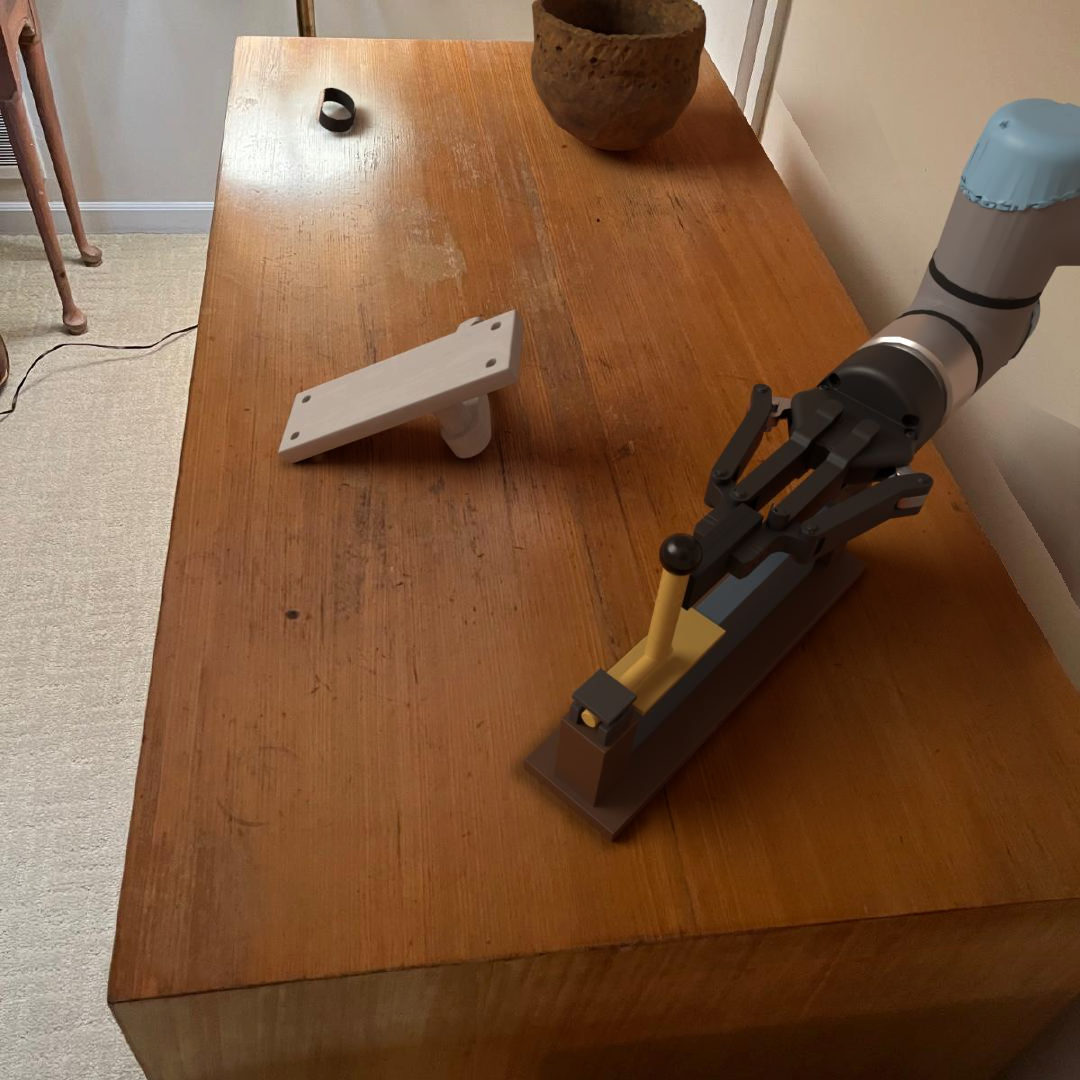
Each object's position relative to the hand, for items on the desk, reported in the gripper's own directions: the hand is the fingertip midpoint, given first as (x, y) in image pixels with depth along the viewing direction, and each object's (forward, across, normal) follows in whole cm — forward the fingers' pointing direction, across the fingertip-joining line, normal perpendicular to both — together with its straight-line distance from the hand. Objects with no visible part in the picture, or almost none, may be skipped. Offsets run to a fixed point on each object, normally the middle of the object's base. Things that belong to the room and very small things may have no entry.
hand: (680, 587), depth 55 cm
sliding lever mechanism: (-7, 0, -14) cm, 15 cm away
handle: (-10, +33, -14) cm, 37 cm away
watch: (-39, +76, -14) cm, 86 cm away
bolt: (+3, 0, -6) cm, 7 cm away
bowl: (-59, +52, -14) cm, 80 cm away
